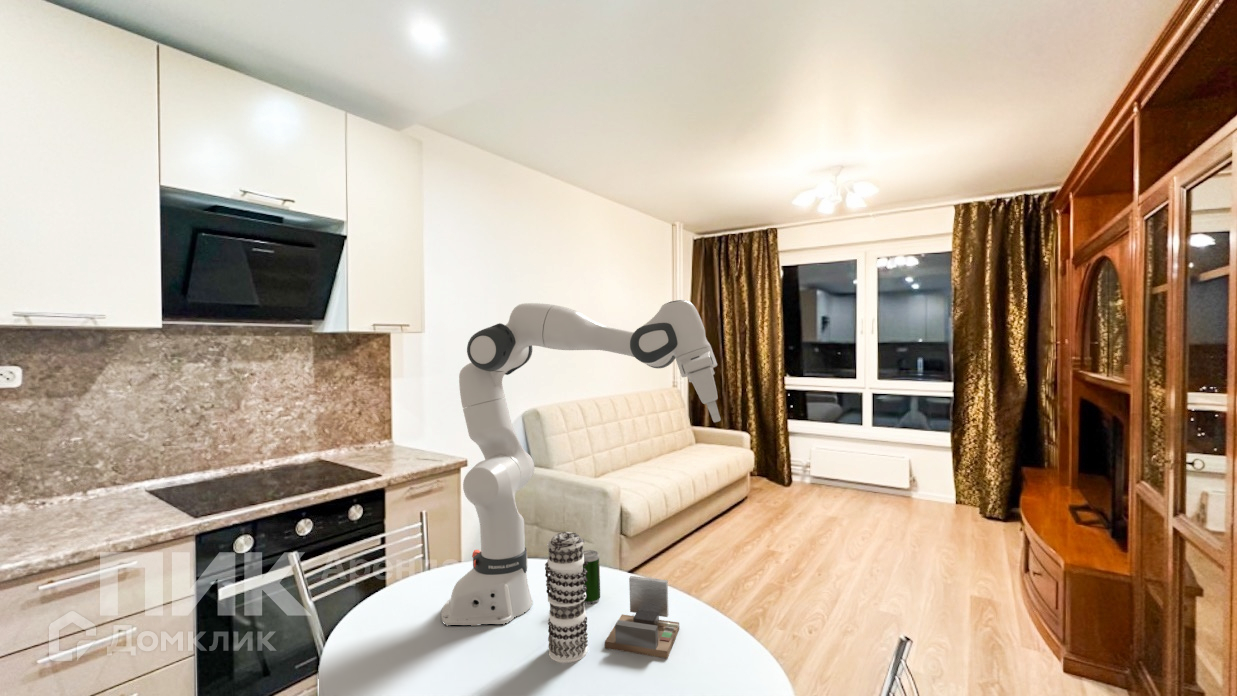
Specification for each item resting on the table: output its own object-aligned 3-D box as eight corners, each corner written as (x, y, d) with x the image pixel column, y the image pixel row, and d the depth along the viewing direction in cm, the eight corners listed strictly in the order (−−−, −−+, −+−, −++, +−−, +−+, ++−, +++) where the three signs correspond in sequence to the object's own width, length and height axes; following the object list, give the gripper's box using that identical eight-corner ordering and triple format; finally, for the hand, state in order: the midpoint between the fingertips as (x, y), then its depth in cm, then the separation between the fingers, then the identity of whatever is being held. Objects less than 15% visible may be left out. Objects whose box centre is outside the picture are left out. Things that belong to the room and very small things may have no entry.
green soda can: (586, 606, 131) (585, 559, 131) (576, 598, 136) (575, 553, 136) (604, 600, 134) (603, 554, 134) (593, 592, 138) (592, 548, 139)
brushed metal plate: (631, 614, 123) (630, 576, 123) (681, 621, 119) (680, 581, 119) (625, 625, 118) (624, 585, 118) (676, 633, 114) (675, 591, 114)
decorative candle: (561, 636, 118) (558, 526, 118) (596, 644, 114) (593, 531, 114) (538, 657, 109) (535, 540, 110) (576, 668, 106) (573, 545, 106)
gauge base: (622, 620, 124) (621, 597, 124) (679, 629, 119) (678, 605, 119) (605, 648, 112) (604, 622, 112) (667, 658, 108) (666, 632, 108)
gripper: (686, 371, 132) (704, 423, 130) (682, 365, 112) (703, 427, 110) (710, 363, 131) (728, 415, 129) (710, 356, 111) (732, 417, 109)
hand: (717, 421), depth 119 cm, fingers open, 8 cm apart
